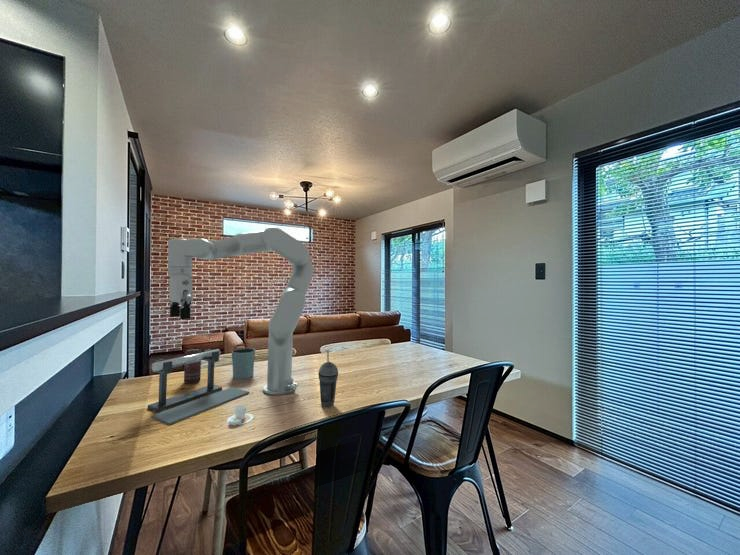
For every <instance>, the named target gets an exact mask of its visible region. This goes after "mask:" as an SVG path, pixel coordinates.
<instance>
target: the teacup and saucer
mask: <svg viewBox="0 0 740 555" xmlns="http://www.w3.org/2000/svg"><path fill="white" fill-rule="evenodd" d="M246 410H247V405H238V406H235V409H234V413H235V414H233V415H231V416H229V417H228V418H227V420H226V423H228V425H230V426H239V425H244V424H247V423H249V422H251V421H253V420H254V415H253V414H251V413H246ZM245 416H248V417H249V419H248V420H246V421H244V422H242V420H244V419H245Z"/></svg>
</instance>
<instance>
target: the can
mask: <svg viewBox="0 0 740 555" xmlns="http://www.w3.org/2000/svg"><path fill="white" fill-rule="evenodd" d="M198 353H202V349H201V348H199V347H192V348H187V349H186V350H185V352H184V356H188V355H193V354H198ZM183 366H184V367H183V368H184V371H183V373H184V375H183V382H184V383H185V384H188V385H192V383H193V384H196V383H199V382H200V381H201V375H202V374H201V371H202V361H198V362H194V363H190V364H185V365H183Z"/></svg>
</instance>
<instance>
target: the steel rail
mask: <svg viewBox="0 0 740 555" xmlns="http://www.w3.org/2000/svg"><path fill="white" fill-rule="evenodd" d="M214 351H219V357H220V356H221V355H222V354H221V353H222V352H221V350H220V349H219V348H217V349H211V351H207V352H204V351H201V353H198V354H193V355H188V356H185V355H184V356H180V357H175V358H170V359H164V361H160V362H155V361H154V362H152V364H151V370H152V372H154V373H157V372H156V371H160V370H163V362H168V361H172V369H173V368H177V367H181V366H184V365H185V364H190V363H194V362H198V361H201V362H202V361H205V360H207V359H211V358H212V352H214Z"/></svg>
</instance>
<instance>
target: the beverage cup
mask: <svg viewBox="0 0 740 555" xmlns="http://www.w3.org/2000/svg"><path fill="white" fill-rule="evenodd" d="M326 352H327V353H326V356H327V357H326V358H327V360H326V362H324V363H323V364H321V366H320V368H319V369H318V373H317V374H318V380H319V392H320V393H319V394H320V405H321V406H320V407H321V408H322V409H331V407H332V408H334V406H335V400H336V399H335V398H336V391H337V390H336V389H337V382H338V376H339V369H338V367H337V365H336V364H335V363H333V362H332V361H331V362H330V357H329V356H330V354H329V353H330V352H329V349H327V350H326Z"/></svg>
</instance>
